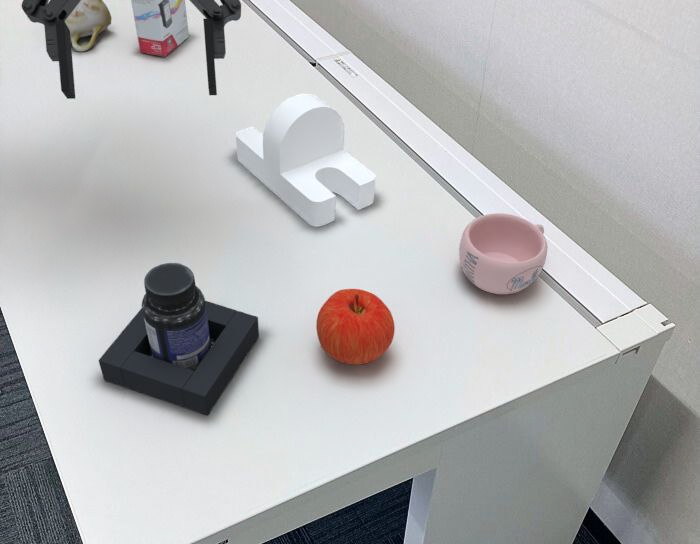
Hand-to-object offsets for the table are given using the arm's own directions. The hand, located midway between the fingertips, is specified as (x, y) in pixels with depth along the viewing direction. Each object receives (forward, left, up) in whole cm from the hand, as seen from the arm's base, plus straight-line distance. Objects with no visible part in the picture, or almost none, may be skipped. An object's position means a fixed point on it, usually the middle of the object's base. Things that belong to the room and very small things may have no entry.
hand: (141, 93), depth 74 cm
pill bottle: (+9, -12, -22) cm, 27 cm away
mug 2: (+37, +15, -22) cm, 45 cm away
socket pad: (+9, -12, -22) cm, 27 cm away
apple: (+25, -4, -22) cm, 33 cm away
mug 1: (-41, +44, -22) cm, 64 cm away
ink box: (-28, +48, -22) cm, 60 cm away
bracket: (+8, +23, -22) cm, 32 cm away
